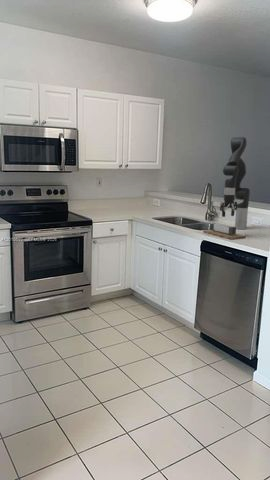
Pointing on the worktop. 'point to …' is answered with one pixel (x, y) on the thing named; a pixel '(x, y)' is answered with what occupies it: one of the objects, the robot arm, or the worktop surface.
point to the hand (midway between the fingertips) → (228, 216)
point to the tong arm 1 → (224, 228)
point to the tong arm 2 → (230, 226)
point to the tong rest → (224, 234)
